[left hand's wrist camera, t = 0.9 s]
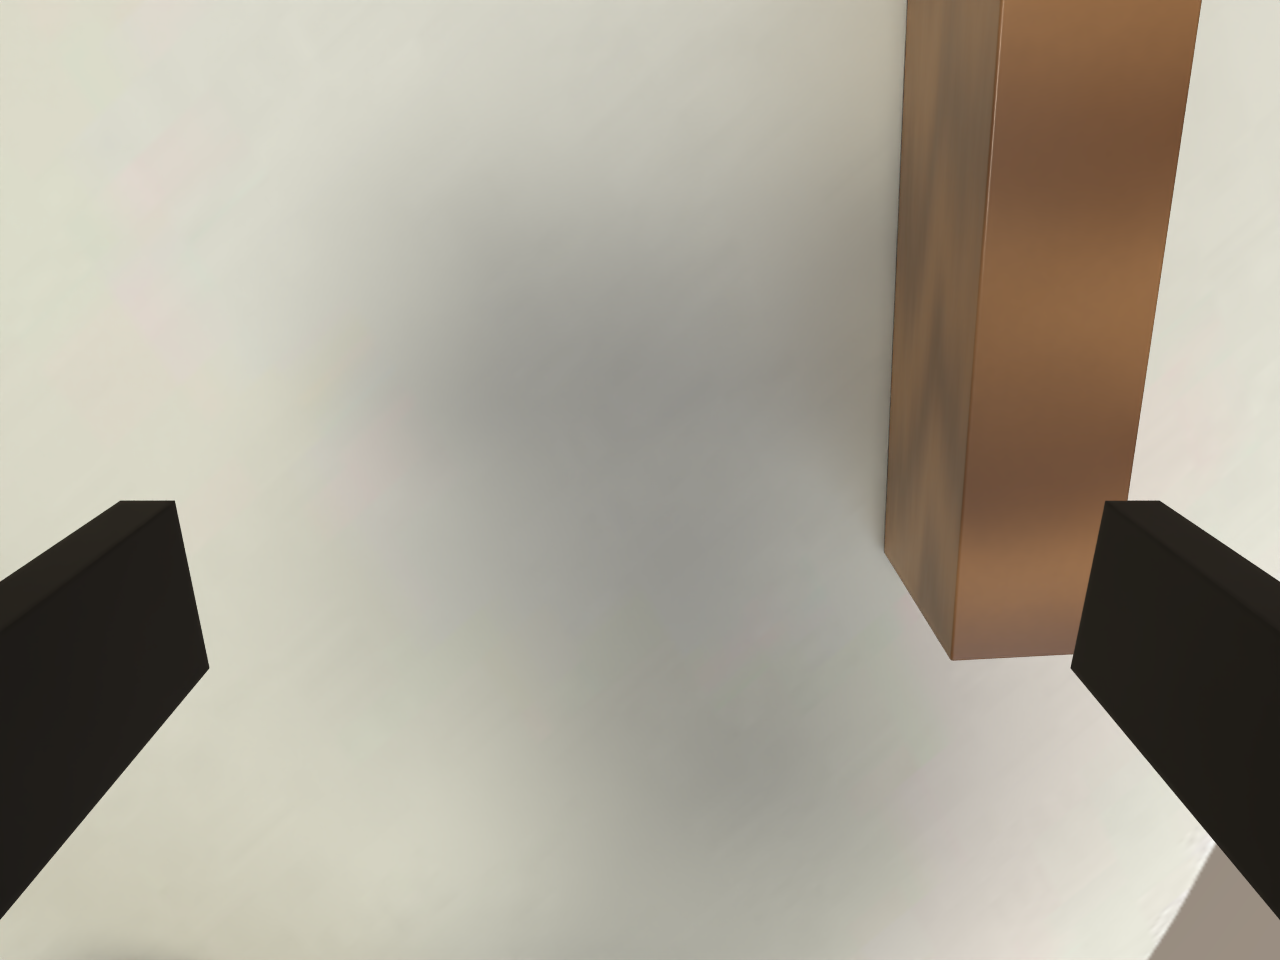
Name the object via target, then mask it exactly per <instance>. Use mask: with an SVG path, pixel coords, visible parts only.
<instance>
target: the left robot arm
mask: <svg viewBox="0 0 1280 960" xmlns="http://www.w3.org/2000/svg"><path fill="white" fill-rule="evenodd" d="M208 669H209V664H208V659H207V654H206V649H205V644H204V639H203V635H202V630H201V625H200V620H199V615H198V610H197V606H196V601H195V596H194V591H193V586H192V582H191V577H190V572H189V567H188V562H187V557H186V553H185V548H184V543H183V538H182V533H181V528H180V524H179V519H178V514H177V509H176V504H175V501H119V502H118V503H116V504H115V505H113V506H112V507H110V508H109V509H107V510H106V511H104V512H103V513H101V514H100V515H98V516H97V517H96V518H94V519H93V520H91V521H90V522H88V523H87V524H85V525H84V526H82V527H81V528H79V529H78V530H76V531H75V532H73V533H72V534H70V535H69V536H67V537H66V538H64V539H63V540H61V541H60V542H58V543H57V544H55V545H54V546H52V547H51V548H50V549H48V550H47V551H45V552H44V553H42V554H41V555H39V556H38V557H36V558H35V559H33V560H32V561H30V562H29V563H27V564H26V565H24V566H23V567H21V568H20V569H18V570H17V571H15V572H14V573H12V574H11V575H9V576H8V577H6V578H5V579H4V580H2V581H1V582H0V919H1V918H2V917H3V916H4V915H5V913H6V912H7V911H8V910H9V909H10V907H11V906H12V905H13V904H14V903H15V901H16V900H17V899H18V898H19V897H20V895H21V894H22V893H23V892H24V891H25V889H26V888H27V887H28V886H29V885H30V883H31V882H32V881H33V880H34V878H35V877H36V876H37V875H38V874H39V872H40V871H41V870H42V869H43V868H44V866H45V865H46V864H47V863H48V862H49V860H50V859H51V858H52V857H53V856H54V854H55V853H56V852H57V851H58V850H59V848H60V847H61V846H62V845H63V844H64V842H65V841H66V840H67V839H68V838H69V836H70V835H71V834H72V833H73V832H74V830H75V829H76V828H77V827H78V826H79V824H80V823H81V822H82V821H83V820H84V818H85V817H86V816H87V815H88V814H89V812H90V811H91V810H92V809H93V808H94V806H95V805H96V804H97V803H98V802H99V800H100V799H101V798H102V797H103V796H104V794H105V793H106V792H107V791H108V790H109V788H110V787H111V786H112V785H113V784H114V782H115V781H116V780H117V779H118V777H119V776H120V775H121V774H122V773H123V771H124V770H125V769H126V768H127V767H128V765H129V764H130V763H131V762H132V761H133V759H134V758H135V757H136V756H137V755H138V753H139V752H140V751H141V750H142V749H143V747H144V746H145V745H146V744H147V743H148V741H149V740H150V739H151V738H152V737H153V735H154V734H155V733H156V732H157V731H158V729H159V728H160V727H161V726H162V725H163V723H164V722H165V721H166V720H167V719H168V717H169V716H170V715H171V714H172V713H173V711H174V710H175V709H176V708H177V707H178V705H179V704H180V703H181V702H182V701H183V699H184V698H185V697H186V696H187V695H188V693H189V692H190V691H191V690H192V689H193V687H194V686H195V685H196V684H197V683H198V681H199V680H200V679H201V678H202V677H203V675H204V674H205V673H206V672H207V670H208ZM1071 669H1072V670H1073V672H1074V673H1075V674H1076V675H1077V677H1078V678H1079V679H1080V680H1081V681H1082V683H1083V684H1084V685H1085V686H1086V687H1087V689H1088V690H1089V691H1090V692H1091V693H1092V695H1093V696H1094V697H1095V698H1096V699H1097V701H1098V702H1099V703H1100V704H1101V705H1102V707H1103V708H1104V709H1105V710H1106V711H1107V713H1108V714H1109V715H1110V716H1111V717H1112V719H1113V720H1114V721H1115V722H1116V723H1117V725H1118V726H1119V727H1120V728H1121V729H1122V731H1123V732H1124V733H1125V734H1126V735H1127V737H1128V738H1129V739H1130V740H1131V741H1132V743H1133V744H1134V745H1135V746H1136V747H1137V749H1138V750H1139V751H1140V752H1141V753H1142V755H1143V756H1144V757H1145V758H1146V759H1147V761H1148V762H1149V763H1150V764H1151V765H1152V767H1153V768H1154V769H1155V770H1156V771H1157V773H1158V774H1159V775H1160V776H1161V777H1162V779H1163V780H1164V781H1165V782H1166V784H1167V785H1168V786H1169V787H1170V788H1171V790H1172V791H1173V792H1174V793H1175V794H1176V796H1177V797H1178V798H1179V799H1180V800H1181V802H1182V803H1183V804H1184V805H1185V806H1186V808H1187V809H1188V810H1189V811H1190V812H1191V814H1192V815H1193V816H1194V817H1195V818H1196V820H1197V821H1198V822H1199V823H1200V824H1201V826H1202V827H1203V828H1204V829H1205V830H1206V832H1207V833H1208V834H1209V835H1210V836H1211V838H1212V839H1213V840H1214V841H1215V842H1216V844H1217V845H1218V846H1219V847H1220V848H1221V850H1222V851H1223V852H1224V853H1225V854H1226V856H1227V857H1228V858H1229V859H1230V860H1231V862H1232V863H1233V864H1234V865H1235V866H1236V868H1237V869H1238V870H1239V871H1240V872H1241V874H1242V875H1243V876H1244V877H1245V878H1246V880H1247V881H1248V882H1249V883H1250V885H1251V886H1252V887H1253V888H1254V889H1255V891H1256V892H1257V893H1258V894H1259V895H1260V897H1261V898H1262V899H1263V900H1264V901H1265V903H1266V904H1267V905H1268V906H1269V907H1270V909H1271V910H1272V911H1273V912H1274V913H1275V915H1276V916H1277V917H1278V918H1279V919H1280V582H1279V581H1278V580H1276V579H1275V578H1274V577H1272V576H1271V575H1269V574H1268V573H1266V572H1265V571H1263V570H1262V569H1260V568H1259V567H1257V566H1256V565H1254V564H1253V563H1251V562H1250V561H1248V560H1247V559H1245V558H1244V557H1242V556H1241V555H1239V554H1238V553H1236V552H1235V551H1233V550H1232V549H1230V548H1229V547H1228V546H1226V545H1225V544H1223V543H1222V542H1220V541H1219V540H1217V539H1216V538H1214V537H1213V536H1211V535H1210V534H1208V533H1207V532H1205V531H1204V530H1202V529H1201V528H1199V527H1198V526H1196V525H1195V524H1193V523H1192V522H1190V521H1189V520H1187V519H1186V518H1184V517H1183V516H1182V515H1180V514H1179V513H1177V512H1176V511H1174V510H1173V509H1171V508H1170V507H1168V506H1167V505H1165V504H1164V503H1162V502H1161V501H1105V504H1104V509H1103V514H1102V519H1101V524H1100V528H1099V533H1098V538H1097V543H1096V548H1095V553H1094V557H1093V562H1092V567H1091V572H1090V577H1089V582H1088V586H1087V591H1086V596H1085V601H1084V606H1083V610H1082V615H1081V620H1080V625H1079V630H1078V635H1077V639H1076V644H1075V649H1074V654H1073V659H1072V664H1071Z"/></svg>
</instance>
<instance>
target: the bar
mask: <svg viewBox="0 0 1280 960" xmlns="http://www.w3.org/2000/svg"><path fill="white" fill-rule="evenodd" d="M1201 2H1202V0H908V7H907V30H906V54H905V77H904V101H903V124H902V148H901V171H900V195H899V218H898V242H897V265H896V289H895V312H894V336H893V359H892V383H891V406H890V430H889V453H888V477H887V500H886V524H885V547H884V553H885V554H886V556H887V558H888V559H889V561H890V563H891V564H892V566H893V567H894V569H895V571H896V572H897V574H898V575H899V577H900V579H901V580H902V582H903V584H904V585H905V587H906V588H907V590H908V592H909V593H910V595H911V597H912V598H913V600H914V601H915V603H916V605H917V606H918V608H919V609H920V611H921V613H922V614H923V616H924V618H925V619H926V621H927V622H928V624H929V626H930V627H931V629H932V631H933V632H934V634H935V635H936V637H937V639H938V640H939V642H940V643H941V645H942V647H943V648H944V650H945V652H946V653H947V655H948V656H949V658H950V660H953V661H954V660H973V659H992V658H1010V657H1029V656H1048V655H1066V654H1074V649H1075V644H1076V639H1077V635H1078V630H1079V625H1080V620H1081V615H1082V610H1083V606H1084V601H1085V596H1086V591H1087V586H1088V582H1089V577H1090V572H1091V567H1092V562H1093V557H1094V553H1095V548H1096V543H1097V538H1098V533H1099V528H1100V524H1101V519H1102V514H1103V509H1104V504H1105V501H1127V500H1128V493H1129V486H1130V479H1131V473H1132V466H1133V459H1134V452H1135V446H1136V439H1137V432H1138V426H1139V419H1140V412H1141V405H1142V399H1143V392H1144V385H1145V378H1146V372H1147V365H1148V358H1149V352H1150V345H1151V338H1152V331H1153V325H1154V318H1155V311H1156V304H1157V298H1158V291H1159V284H1160V278H1161V271H1162V264H1163V257H1164V251H1165V244H1166V237H1167V231H1168V224H1169V217H1170V210H1171V204H1172V197H1173V190H1174V183H1175V177H1176V170H1177V163H1178V157H1179V150H1180V143H1181V136H1182V130H1183V123H1184V116H1185V109H1186V103H1187V96H1188V89H1189V83H1190V76H1191V69H1192V62H1193V56H1194V49H1195V42H1196V35H1197V29H1198V22H1199V15H1200V9H1201Z"/></svg>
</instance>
